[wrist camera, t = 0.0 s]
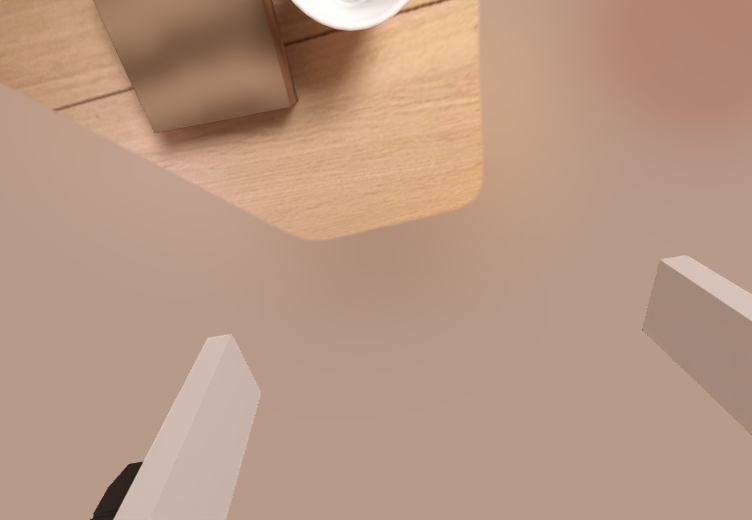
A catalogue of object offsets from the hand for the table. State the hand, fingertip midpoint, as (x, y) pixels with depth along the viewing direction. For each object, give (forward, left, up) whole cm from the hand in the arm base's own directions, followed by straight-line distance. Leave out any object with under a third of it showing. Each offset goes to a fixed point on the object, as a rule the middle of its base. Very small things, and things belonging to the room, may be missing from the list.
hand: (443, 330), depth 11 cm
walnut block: (-11, -13, -29) cm, 34 cm away
